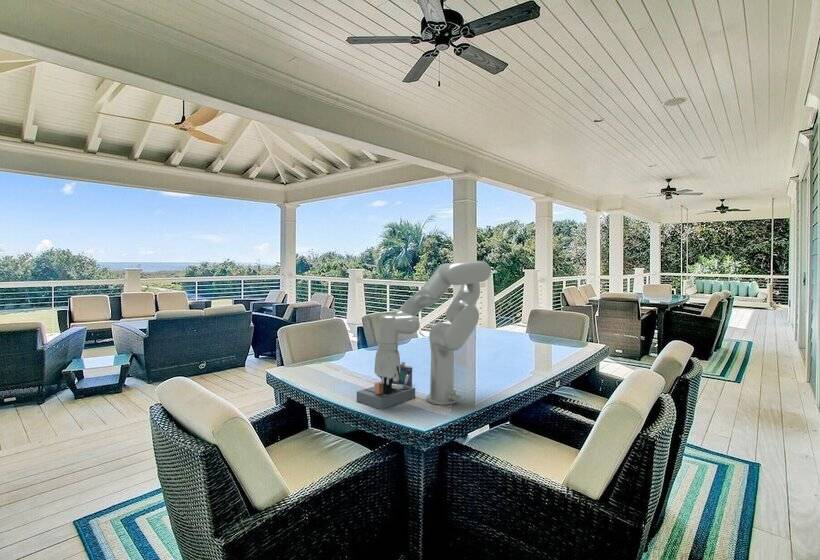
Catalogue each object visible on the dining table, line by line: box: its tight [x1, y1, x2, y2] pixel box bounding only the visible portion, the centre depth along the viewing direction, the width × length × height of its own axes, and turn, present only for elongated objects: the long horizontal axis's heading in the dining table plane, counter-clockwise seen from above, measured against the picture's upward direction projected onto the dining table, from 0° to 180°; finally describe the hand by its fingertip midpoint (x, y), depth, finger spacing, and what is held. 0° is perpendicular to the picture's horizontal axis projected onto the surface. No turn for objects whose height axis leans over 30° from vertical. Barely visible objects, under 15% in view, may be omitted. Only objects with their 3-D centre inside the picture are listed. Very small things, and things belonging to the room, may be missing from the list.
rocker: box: [392, 384, 403, 389], centre depth 169 cm, size 4×8×1 cm, turn 139°
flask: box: [398, 361, 413, 387], centre depth 193 cm, size 9×3×11 cm, turn 59°
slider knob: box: [374, 381, 383, 394], centre depth 166 cm, size 2×3×4 cm
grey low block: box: [356, 380, 416, 411], centre depth 172 cm, size 14×20×6 cm
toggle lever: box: [404, 369, 413, 387], centre depth 174 cm, size 2×2×7 cm
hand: (387, 393), depth 163 cm, fingers closed
